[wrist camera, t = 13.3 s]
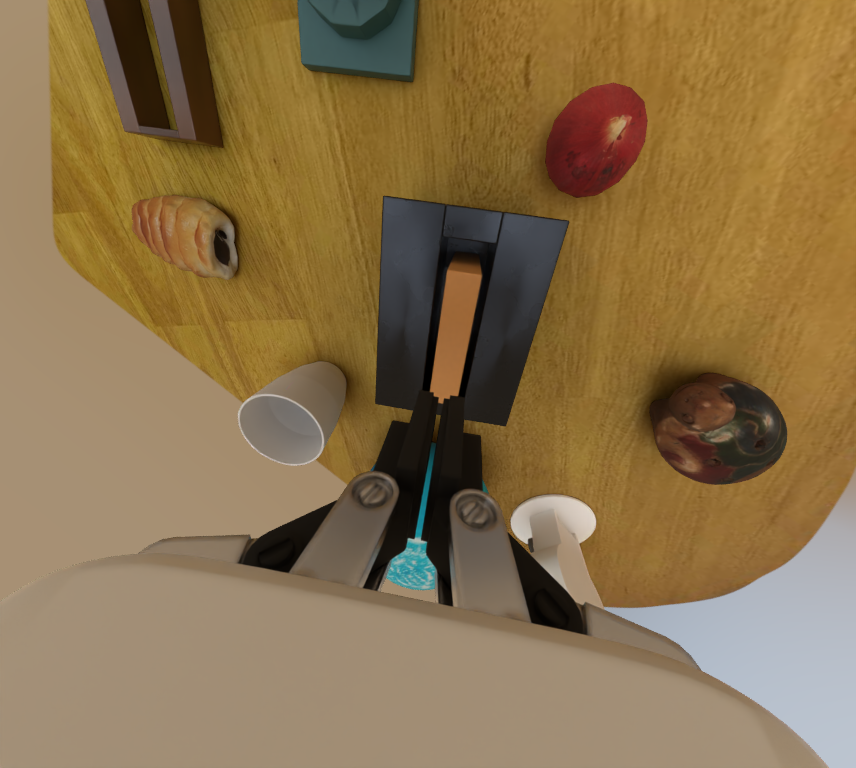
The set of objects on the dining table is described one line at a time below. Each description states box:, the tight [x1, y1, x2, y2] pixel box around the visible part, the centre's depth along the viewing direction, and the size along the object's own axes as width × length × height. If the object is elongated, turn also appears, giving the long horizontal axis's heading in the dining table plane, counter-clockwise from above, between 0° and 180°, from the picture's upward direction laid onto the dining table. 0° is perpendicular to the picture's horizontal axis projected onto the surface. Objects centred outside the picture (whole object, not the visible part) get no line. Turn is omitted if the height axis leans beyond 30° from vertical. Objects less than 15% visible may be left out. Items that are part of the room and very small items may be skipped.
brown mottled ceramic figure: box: [650, 373, 787, 485], centre depth 29 cm, size 10×15×8 cm, turn 50°
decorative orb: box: [371, 442, 489, 590], centre depth 34 cm, size 15×15×15 cm
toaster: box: [375, 196, 569, 426], centre depth 26 cm, size 15×11×10 cm
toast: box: [430, 251, 482, 404], centre depth 24 cm, size 9×2×10 cm, turn 173°
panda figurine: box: [511, 494, 604, 610], centre depth 37 cm, size 12×11×15 cm
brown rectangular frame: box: [85, 0, 223, 148], centre depth 22 cm, size 11×6×3 cm, turn 173°
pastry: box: [132, 195, 238, 280], centre depth 28 cm, size 9×7×4 cm
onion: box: [545, 83, 647, 198], centre depth 20 cm, size 6×6×8 cm
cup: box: [238, 361, 347, 465], centre depth 32 cm, size 8×8×10 cm
